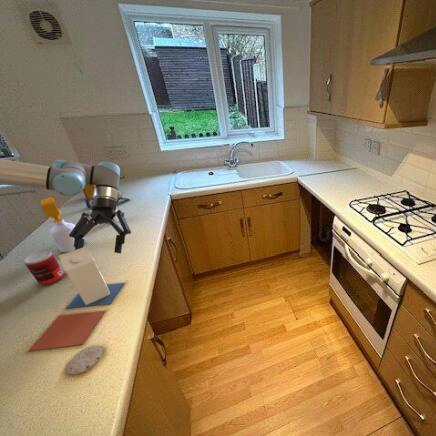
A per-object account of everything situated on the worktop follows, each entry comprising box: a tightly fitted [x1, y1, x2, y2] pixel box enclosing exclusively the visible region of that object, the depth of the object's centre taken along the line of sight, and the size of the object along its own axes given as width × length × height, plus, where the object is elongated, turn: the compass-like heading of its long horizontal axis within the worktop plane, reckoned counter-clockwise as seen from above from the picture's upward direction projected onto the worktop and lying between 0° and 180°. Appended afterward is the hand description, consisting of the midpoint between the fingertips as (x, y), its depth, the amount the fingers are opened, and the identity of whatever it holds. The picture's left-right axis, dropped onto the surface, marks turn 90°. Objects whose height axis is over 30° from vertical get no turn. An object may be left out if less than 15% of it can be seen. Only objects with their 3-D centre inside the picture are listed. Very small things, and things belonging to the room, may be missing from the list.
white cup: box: [113, 208, 119, 223], centre depth 133 cm, size 7×7×10 cm
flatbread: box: [65, 344, 104, 376], centre depth 64 cm, size 8×8×1 cm
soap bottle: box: [40, 197, 76, 253], centre depth 107 cm, size 9×9×25 cm
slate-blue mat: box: [65, 282, 126, 310], centre depth 85 cm, size 14×10×1 cm
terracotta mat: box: [28, 310, 106, 352], centre depth 73 cm, size 14×12×1 cm
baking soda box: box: [82, 184, 95, 201], centre depth 163 cm, size 10×6×16 cm
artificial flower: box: [85, 190, 130, 209], centre depth 155 cm, size 9×22×10 cm, turn 113°
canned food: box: [23, 250, 65, 287], centre depth 91 cm, size 8×8×11 cm
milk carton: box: [57, 246, 110, 305], centre depth 81 cm, size 7×7×19 cm
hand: (98, 254), depth 87 cm, fingers open, 13 cm apart
